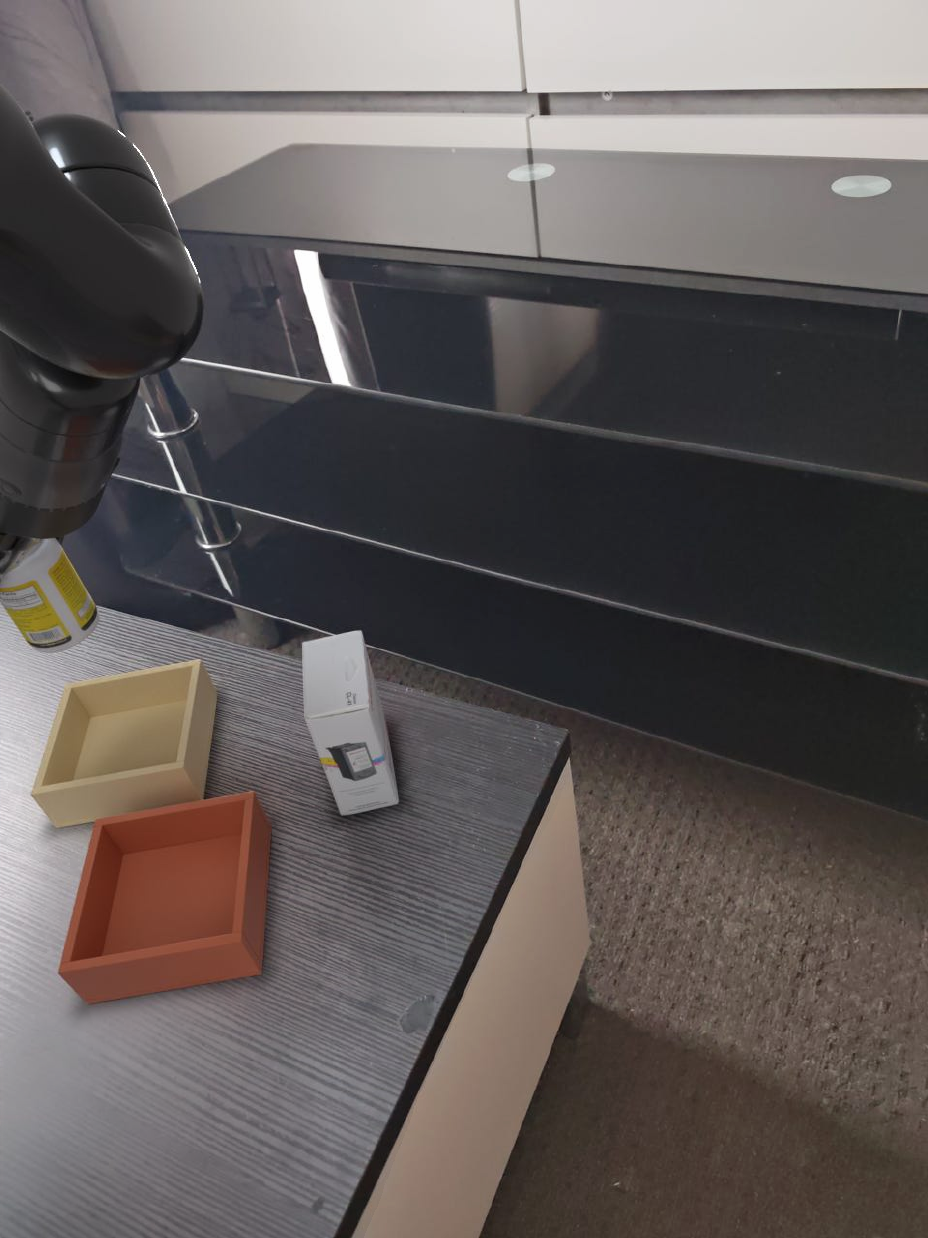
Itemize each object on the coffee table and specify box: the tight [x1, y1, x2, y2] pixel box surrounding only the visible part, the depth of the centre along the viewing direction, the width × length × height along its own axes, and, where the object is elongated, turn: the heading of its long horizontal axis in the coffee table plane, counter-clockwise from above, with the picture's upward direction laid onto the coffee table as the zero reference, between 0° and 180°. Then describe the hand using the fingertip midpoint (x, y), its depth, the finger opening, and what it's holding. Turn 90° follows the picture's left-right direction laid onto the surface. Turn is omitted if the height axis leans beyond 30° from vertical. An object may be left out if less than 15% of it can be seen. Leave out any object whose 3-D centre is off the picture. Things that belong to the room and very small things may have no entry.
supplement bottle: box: [0, 538, 101, 654], centre depth 65 cm, size 5×5×10 cm
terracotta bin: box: [57, 790, 273, 1005], centre depth 66 cm, size 12×12×5 cm
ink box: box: [301, 629, 400, 816], centre depth 71 cm, size 9×5×12 cm, turn 9°
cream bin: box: [30, 658, 219, 829], centre depth 78 cm, size 12×12×5 cm
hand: (12, 566), depth 65 cm, fingers closed on supplement bottle, 5 cm apart
